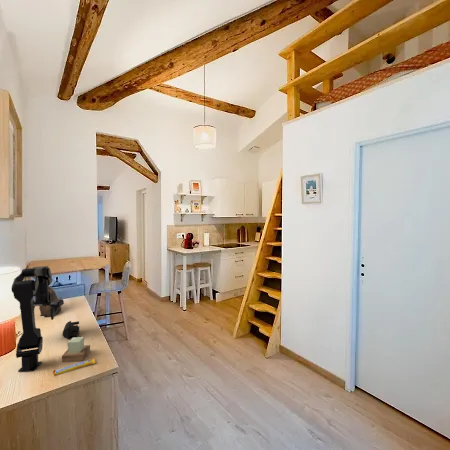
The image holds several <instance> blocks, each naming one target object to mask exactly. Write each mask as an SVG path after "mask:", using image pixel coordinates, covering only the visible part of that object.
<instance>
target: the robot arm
mask: <svg viewBox="0 0 450 450" xmlns="http://www.w3.org/2000/svg"><path fill="white" fill-rule="evenodd" d="M52 277H53V275H52V272H51V268H50V266H48V265H44V266H33V267H29V268H27V267H26V268H23V269H21V273H20V274H18V275H17V276H16V277H15V278H14V279H13V282H12V285H11V292H12V293H13V298H14V299H15V300H16V301H18V303H19V310H20V316H21V317H20V318H21V325H22V334H21V336H20V338H19V340H18V343H17V344H16V345H17V346H16V353H15V357H16V359H19V358H21V367H20V368H19V369H18V370H17V371H18V372H21V373H22V372H33V371H36V370H37V368H38V367H40V365H41V364H42V363H43V362H42V361H39V355H40V354H41V352H42V351H43V346H44V345H43V343H44V341H43V340H44V337H43V335H42V334H41V333H42V331H41V328H40V327H38V328H37V327H36V318H35V315H36V314H35V308H36V307H39V306H49V305H50V307H52V308H50V314H51V317H50V319H51V321H53V320H54V319H55V313H56V311H57V309H58V308H59V307H60V306H61V307H62V306H63V305H64V304H65V301H64V300H63V299H62V298H58V299H55V300H54V297H55V294H52V293H50V291H48V286H50V285H51V284H52V283H53V278H52ZM25 278H33V279H26V280H25ZM33 298H34V299H35V300H34V299H33ZM51 299H52V300H54V301H52V302H49V301H51Z"/></svg>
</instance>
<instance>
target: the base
mask: <svg viewBox="0 0 450 450" xmlns="http://www.w3.org/2000/svg"><path fill="white" fill-rule="evenodd" d="M90 352H91V344H84V348H83V349H82V350H81V351H80V352H79V353H68V349H67V350H66V351H64V353H63V354H62V355H61V363H72V362H83V361H85V359H86V357H87V356H88V355H89V353H90Z"/></svg>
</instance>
